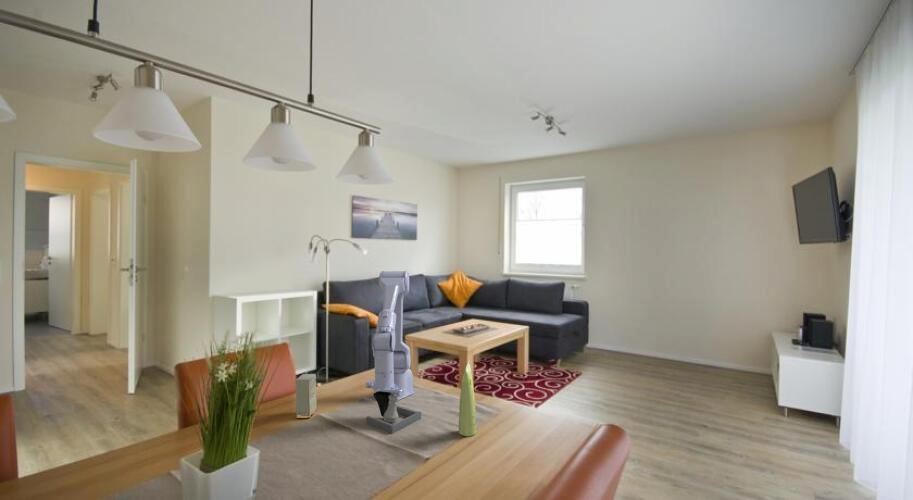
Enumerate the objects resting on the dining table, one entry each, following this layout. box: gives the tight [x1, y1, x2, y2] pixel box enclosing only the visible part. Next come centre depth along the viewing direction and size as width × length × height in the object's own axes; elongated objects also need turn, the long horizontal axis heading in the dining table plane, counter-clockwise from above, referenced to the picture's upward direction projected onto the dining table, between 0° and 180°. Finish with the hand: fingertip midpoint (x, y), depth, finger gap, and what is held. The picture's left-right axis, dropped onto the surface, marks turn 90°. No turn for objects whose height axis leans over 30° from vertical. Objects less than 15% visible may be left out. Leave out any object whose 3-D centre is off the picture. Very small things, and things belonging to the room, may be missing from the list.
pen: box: [365, 405, 422, 434], centre depth 127 cm, size 12×11×2 cm
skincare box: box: [295, 373, 318, 416], centre depth 132 cm, size 6×4×12 cm
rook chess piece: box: [382, 394, 399, 424], centre depth 127 cm, size 4×4×8 cm
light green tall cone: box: [458, 360, 477, 437], centre depth 118 cm, size 6×5×20 cm
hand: (384, 415), depth 129 cm, fingers closed
